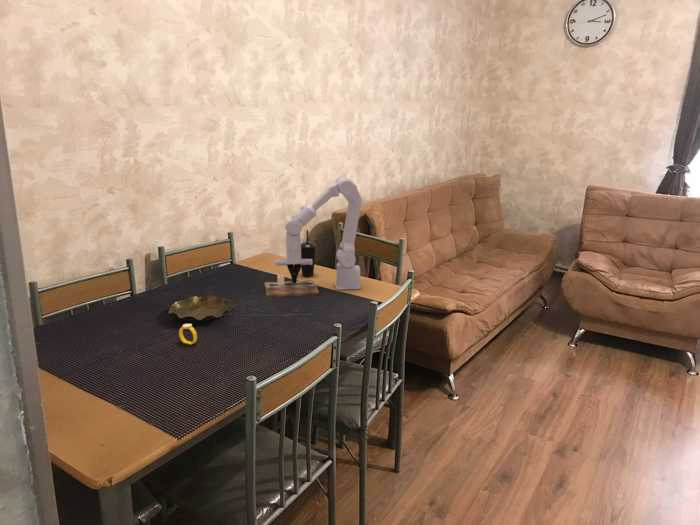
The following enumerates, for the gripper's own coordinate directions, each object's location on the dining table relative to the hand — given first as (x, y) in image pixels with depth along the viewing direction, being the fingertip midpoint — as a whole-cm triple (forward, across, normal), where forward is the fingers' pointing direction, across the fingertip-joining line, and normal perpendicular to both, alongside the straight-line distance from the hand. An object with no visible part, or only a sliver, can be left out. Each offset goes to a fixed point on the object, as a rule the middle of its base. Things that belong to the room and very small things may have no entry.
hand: (294, 282), depth 218 cm
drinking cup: (+3, -8, -18) cm, 20 cm away
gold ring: (+3, +37, +47) cm, 60 cm away
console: (+3, +1, 0) cm, 3 cm away
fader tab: (+2, +5, 0) cm, 5 cm away
